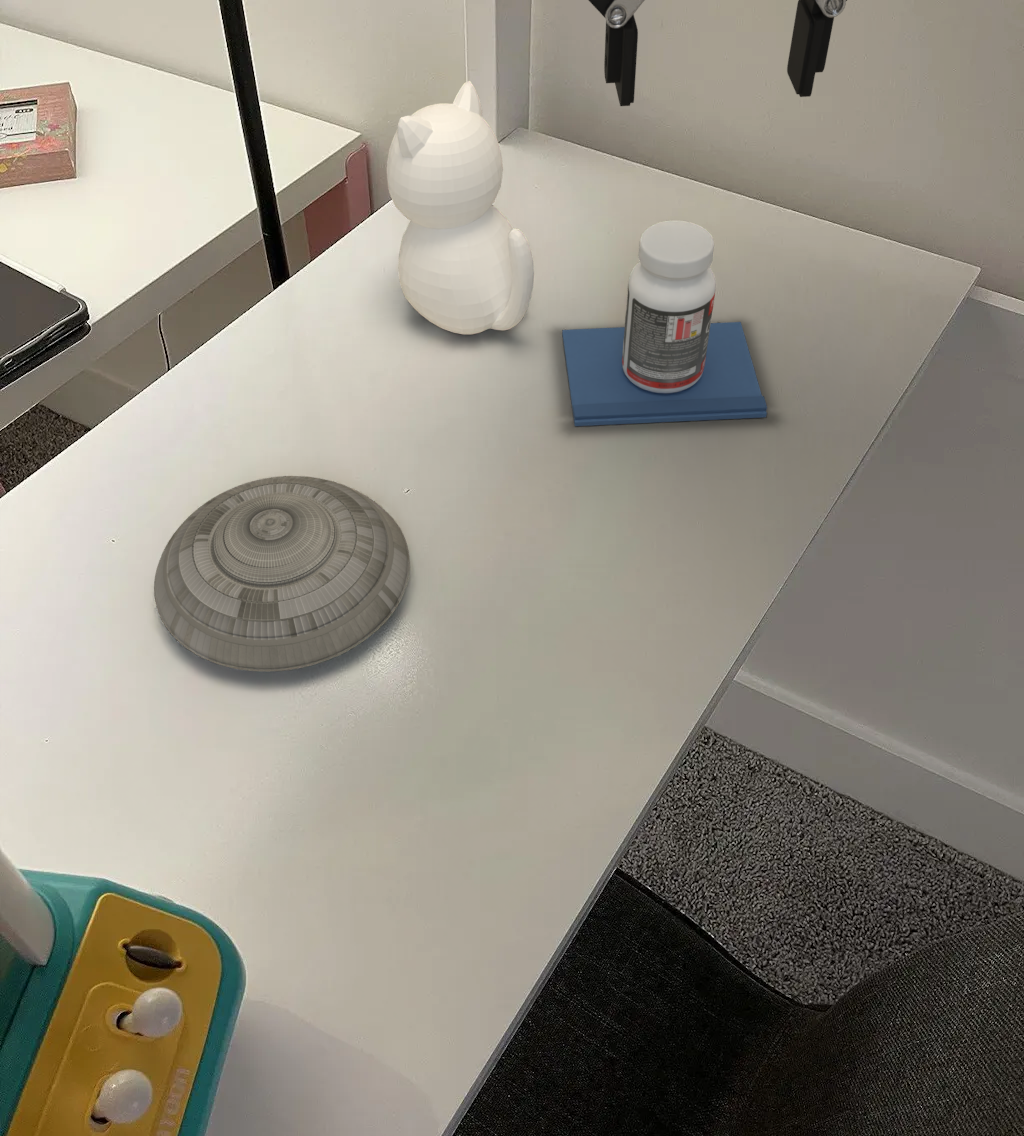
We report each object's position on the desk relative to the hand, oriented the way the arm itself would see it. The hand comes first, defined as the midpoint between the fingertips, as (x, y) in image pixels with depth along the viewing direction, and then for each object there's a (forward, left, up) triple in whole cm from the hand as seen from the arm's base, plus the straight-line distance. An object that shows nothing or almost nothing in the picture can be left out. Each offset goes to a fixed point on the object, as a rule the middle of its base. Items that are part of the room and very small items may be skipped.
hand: (711, 89), depth 62 cm
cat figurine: (+14, -9, -21) cm, 26 cm away
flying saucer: (+26, +17, -21) cm, 37 cm away
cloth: (+1, -1, -20) cm, 20 cm away
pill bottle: (+1, -1, -20) cm, 20 cm away
